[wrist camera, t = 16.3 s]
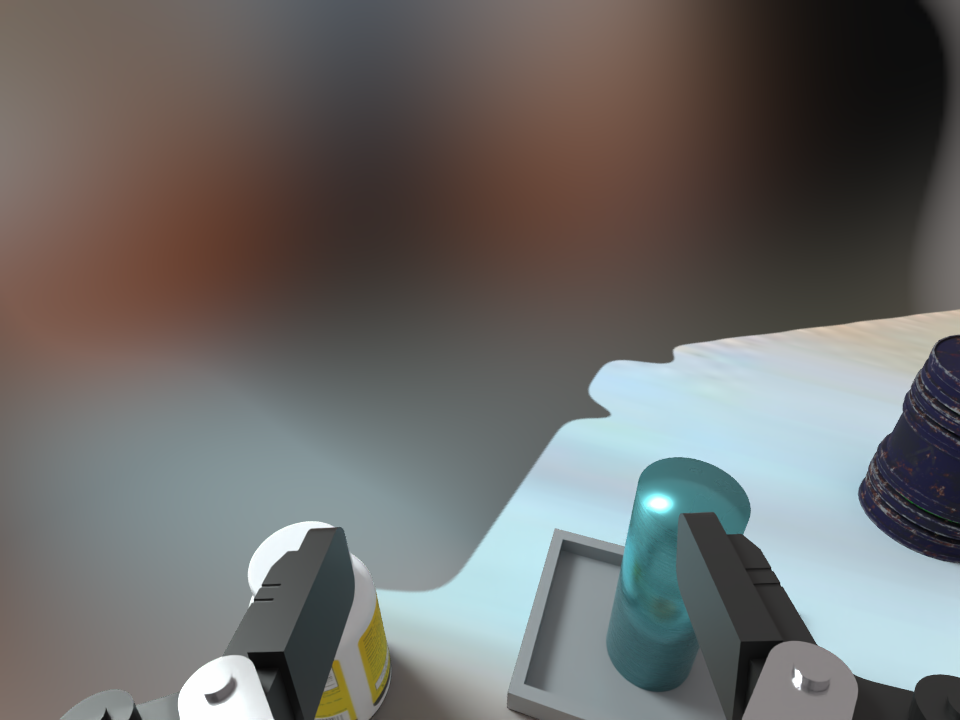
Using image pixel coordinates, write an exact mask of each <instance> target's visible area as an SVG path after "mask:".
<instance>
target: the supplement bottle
mask: <svg viewBox="0 0 960 720" xmlns="http://www.w3.org/2000/svg"><path fill="white" fill-rule="evenodd" d="M332 527H333V526H331V525H329V524H326V523H322V522H315V521H309V522H301V523H296V524H292V525H290V526H287V527H285V528H283V529H281V530H279V531H277V532H275V533H274V534H272V535H271V536H270V537H268V538H267V539H266V540H265V541H264V542H263V543H262V544H261V545H260V547H259V548H258V549H257V550H256V552H255V553H254V555H253V557H252V559H251V561H250V565H249V570H248V581H249V585H250V588H251V591H252V594H253V596H252V599H251V601H250V605H251V603H253V602H254V597H255V596H256V594H257V592H258V590H259V588H261V587H262V583H263V581H264V579H265V577H266V575H267V574H268V572H269V570H270V568H271V566H273V565H274V564H275V563H276V562H277V561H278V560H279V559H280V558H281V557H282V556H283V555H284V554H285V553H286V552H287V551H298V550H299V548H300V546H301V544H302V542H303V540H304V538H305V536H306V534H307V532H308V531H309V529H311V528H332ZM347 546H348V543H347ZM348 550H349V547H348ZM349 554H350V559H351V563H352V568H353V572H354V578H355V594H354V600H353V604H352V607H351V610H350V613H349V616H348V619H347V622H346V625H345V628H344V631H343V634H342V637H341V640H340V643H339V646H338V649H337V652H336V655H335V658H334V661H333V664H332V667H331V670H330V673H329V676H328V679H327V682H326V685H325V689H324V692H323V695H322V698H321V701H320V704H319V707H318V710H317V713H316V716H315V719H314V720H369V719H370V718H371V717H372V716H373V715H374V713H375V712H376V711H377V710H378V708H379V707H380V705H381V704H382V702H383V700H384V698H385V696H386V694H387V691H388V688H389V685H390V680H391V660H390V654H389V649H388V645H387V641H386V636H385V632H384V627H383V622H382V618H381V613H380V608H379V604H378V599H377V594H376V589H375V585H374V582H373V579H372V576H371V574H370V572H369V570H368V569H367V567H366V566H365V565H364V564H363V563H362V562H361V561H360V560H359V559H358V558H357V557H356V556H354V555H353V554H351V553H350V550H349ZM250 605H249V607H250Z"/></svg>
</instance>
